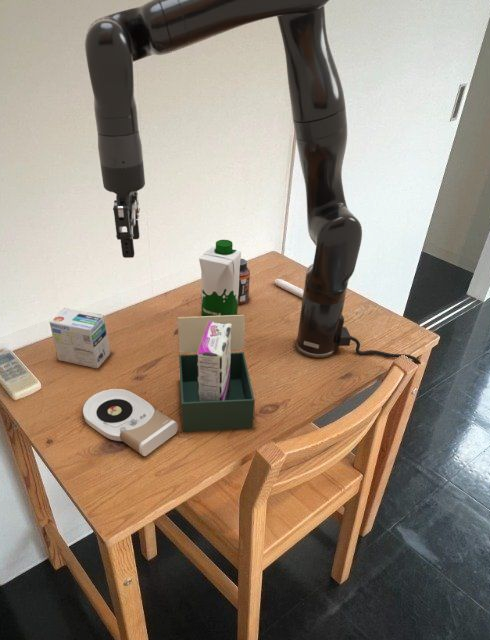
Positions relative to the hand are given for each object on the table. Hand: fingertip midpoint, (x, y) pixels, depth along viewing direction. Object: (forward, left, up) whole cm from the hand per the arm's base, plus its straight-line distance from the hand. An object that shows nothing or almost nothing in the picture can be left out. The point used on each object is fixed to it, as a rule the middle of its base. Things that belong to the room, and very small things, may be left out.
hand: (131, 247), depth 101 cm
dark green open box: (-15, +16, -28) cm, 36 cm away
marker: (-42, -29, -28) cm, 58 cm away
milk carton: (-19, -17, -28) cm, 38 cm away
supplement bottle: (-25, -27, -28) cm, 47 cm away
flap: (-15, +7, -16) cm, 23 cm away
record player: (+3, +20, -28) cm, 35 cm away
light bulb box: (+14, -3, -28) cm, 32 cm away
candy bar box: (-15, +16, -28) cm, 35 cm away
